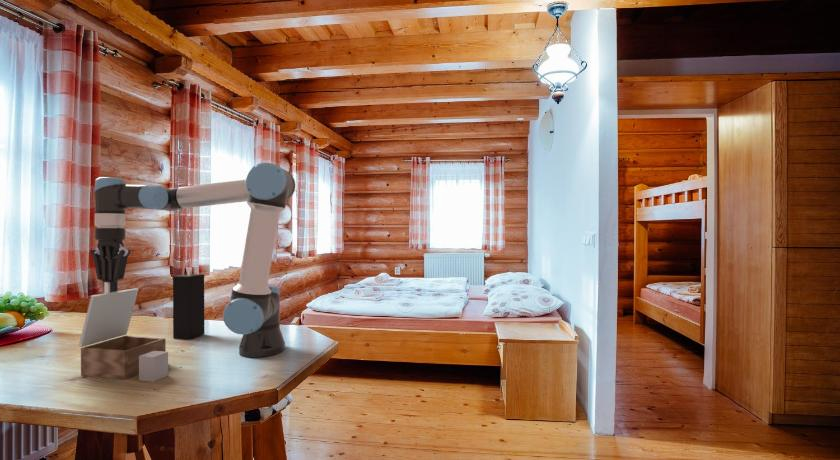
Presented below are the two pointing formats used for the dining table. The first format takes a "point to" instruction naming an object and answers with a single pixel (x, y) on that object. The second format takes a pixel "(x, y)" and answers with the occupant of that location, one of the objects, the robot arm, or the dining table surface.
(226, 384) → the dining table surface
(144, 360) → the stone block
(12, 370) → the dining table surface
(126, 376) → the box
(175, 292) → the tall black column
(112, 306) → the lid
